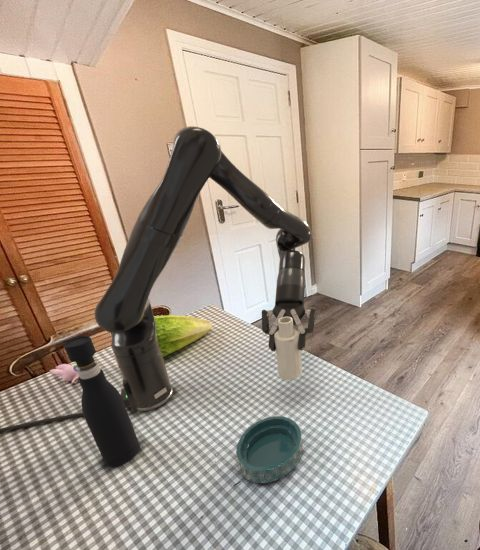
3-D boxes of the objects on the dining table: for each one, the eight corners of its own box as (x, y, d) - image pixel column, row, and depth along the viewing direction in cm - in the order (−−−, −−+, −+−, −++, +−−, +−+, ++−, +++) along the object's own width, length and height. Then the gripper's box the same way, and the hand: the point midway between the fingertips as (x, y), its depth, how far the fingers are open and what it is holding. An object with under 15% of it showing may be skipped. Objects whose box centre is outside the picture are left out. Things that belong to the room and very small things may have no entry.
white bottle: (283, 383, 76) (277, 328, 70) (275, 370, 81) (269, 318, 75) (305, 374, 79) (301, 321, 74) (297, 362, 84) (292, 311, 78)
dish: (248, 499, 60) (245, 484, 58) (233, 447, 70) (230, 433, 68) (312, 463, 67) (310, 448, 65) (289, 421, 77) (288, 407, 75)
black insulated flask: (121, 470, 65) (72, 353, 54) (96, 464, 66) (44, 349, 55) (146, 444, 71) (107, 334, 60) (124, 439, 72) (81, 330, 61)
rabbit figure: (108, 378, 93) (65, 366, 95) (104, 363, 91) (61, 351, 92) (87, 393, 87) (42, 380, 89) (83, 377, 85) (37, 364, 87)
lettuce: (227, 322, 111) (206, 296, 115) (157, 344, 91) (136, 310, 95) (215, 346, 117) (196, 320, 121) (148, 371, 97) (128, 339, 102)
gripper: (260, 283, 78) (253, 348, 72) (316, 282, 79) (314, 346, 73) (267, 293, 85) (261, 353, 78) (318, 292, 86) (317, 351, 79)
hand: (286, 350), depth 76 cm, fingers closed on white bottle, 6 cm apart
